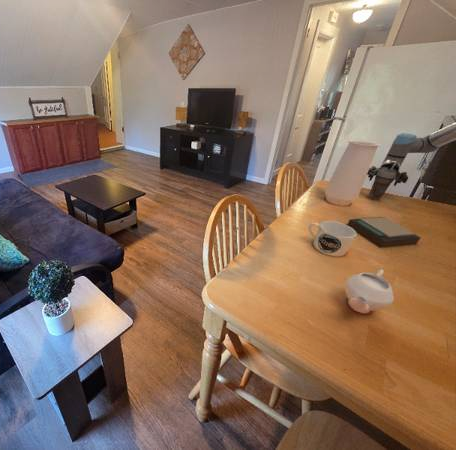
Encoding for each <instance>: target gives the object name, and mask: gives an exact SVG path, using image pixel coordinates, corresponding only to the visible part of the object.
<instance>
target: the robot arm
mask: <svg viewBox="0 0 456 450" xmlns="http://www.w3.org/2000/svg"><path fill="white" fill-rule="evenodd" d="M454 141H456V122H453V123H451V124H449V125H447V126H445V127H443V128H441V129H439V130H437V131H435V132H431V133H430V134H428V135H426V136H424V137H418V136H417V135H416V134H412V133H407V132H405V133H404V132H402V133H399V134H397V135H396V136H395V138H394V140H393V142H392V144H391V146H390V148H389V150H388V152H387V154H386V156H385V158H384V160H383V161H382V163H381V165H380V166H379V167H377V166H375V165H371V166H370V168H369V171H368V173H367V178H369V179H368V181H370V182H371V181H372V179H373V178H374V177H375V176H376V174H377V173H378V172H379V171H380V170H381V169H384V168H392V166H393V165H394V164H395V162H396V161H397V159H398V162H397V163H396V165H395V166H394V167H393V170H395V172H396V177H395V179H394V183H393V186H394V187H396V186H397V185H398V184H401V183H402V184H406V183H407V181H408V180H409V176H408V175H407V174H408V172H407V171H404V172H400V168H401V166H402V164H403V163H404V161H405V159H406V157H407V156H408V154H428V153H433V152H436V151H438V149H440V148H441V147H442V146H444V145H445V146H446V144H449V143H452V142H454Z"/></svg>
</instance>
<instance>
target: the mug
mask: <svg viewBox="0 0 456 450" xmlns="http://www.w3.org/2000/svg"><path fill="white" fill-rule="evenodd" d="M313 226H316V227H317V228H318V229H317V231H316V234H314V232H313V230H312V227H313ZM308 232H309V234H310V235H311V237H312V238H313V239H314V240H313V243H312V244H313V247H314V248H315V249H316V250H317V251H319V252H320V253H322V254H324V255H327V256H331V257H342V256H344V255H346V253H347V252H348V250H349V249H350V247H351V245H352V244H353V242H354V240H355V239H356V237H357V234H358V233H357V232H356V231H355V230H354V229H352V228H351V227H349V226H347V224H344V223H341V222H338V221H333V220H325V221H322V222H320V223H318V222H311V223H310V224H309V225H308Z"/></svg>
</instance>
